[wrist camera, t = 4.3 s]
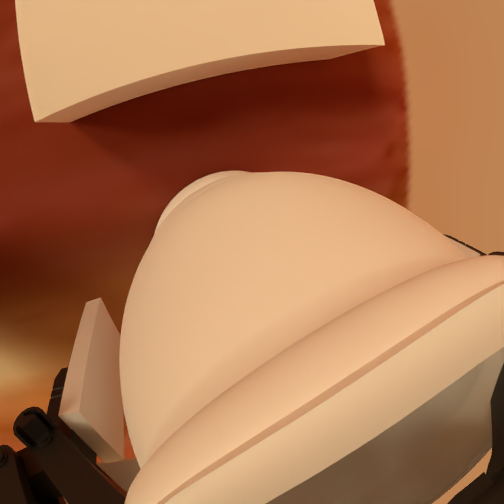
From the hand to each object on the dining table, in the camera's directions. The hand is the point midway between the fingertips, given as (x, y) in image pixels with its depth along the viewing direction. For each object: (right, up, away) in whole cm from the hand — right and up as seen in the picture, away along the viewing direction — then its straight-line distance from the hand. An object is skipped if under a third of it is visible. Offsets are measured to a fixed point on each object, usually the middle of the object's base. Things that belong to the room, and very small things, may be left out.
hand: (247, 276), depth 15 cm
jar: (-1, +1, +3) cm, 4 cm away
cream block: (-4, +16, -3) cm, 16 cm away
